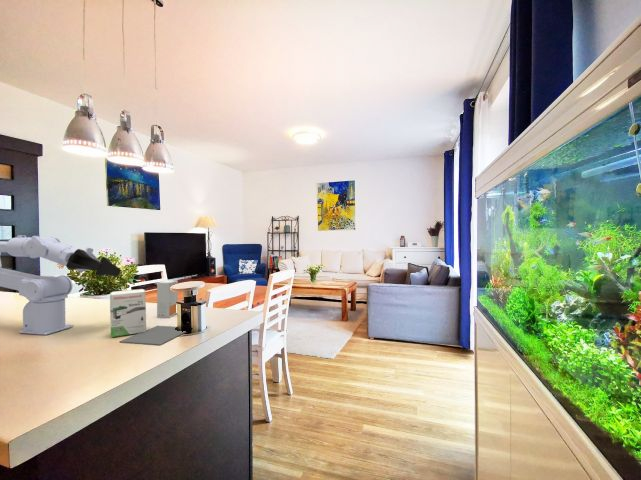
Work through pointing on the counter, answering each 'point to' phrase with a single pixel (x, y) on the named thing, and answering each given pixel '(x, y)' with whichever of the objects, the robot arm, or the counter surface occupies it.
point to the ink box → (127, 312)
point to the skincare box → (166, 299)
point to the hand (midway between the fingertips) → (109, 270)
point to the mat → (154, 336)
